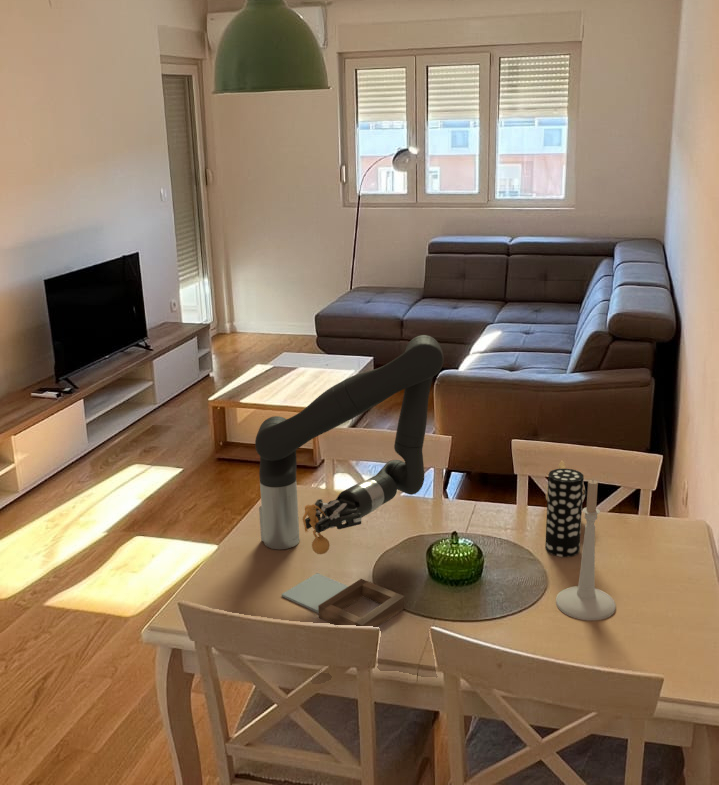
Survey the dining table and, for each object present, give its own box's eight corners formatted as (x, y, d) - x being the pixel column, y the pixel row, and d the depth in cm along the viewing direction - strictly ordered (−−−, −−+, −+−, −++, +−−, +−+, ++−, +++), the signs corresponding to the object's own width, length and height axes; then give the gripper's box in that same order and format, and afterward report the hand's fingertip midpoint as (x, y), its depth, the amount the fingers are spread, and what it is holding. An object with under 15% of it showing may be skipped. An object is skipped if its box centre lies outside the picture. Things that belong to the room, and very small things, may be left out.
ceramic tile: (281, 596, 197) (281, 594, 197) (317, 575, 206) (317, 572, 205) (320, 613, 189) (320, 611, 189) (355, 591, 198) (355, 588, 198)
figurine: (318, 564, 190) (319, 516, 185) (295, 556, 192) (295, 509, 188) (337, 546, 197) (337, 500, 192) (314, 539, 199) (314, 494, 195)
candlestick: (622, 598, 192) (631, 474, 183) (606, 626, 182) (615, 497, 173) (566, 584, 199) (572, 464, 190) (547, 610, 188) (553, 485, 179)
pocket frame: (318, 617, 188) (318, 605, 187) (361, 590, 199) (361, 578, 198) (362, 637, 180) (362, 625, 179) (404, 608, 191) (404, 596, 190)
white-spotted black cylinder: (542, 553, 213) (545, 479, 206) (548, 539, 220) (551, 466, 214) (576, 559, 210) (581, 484, 203) (581, 544, 217) (586, 470, 211)
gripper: (338, 478, 207) (287, 503, 194) (383, 492, 198) (333, 520, 186) (339, 506, 209) (289, 533, 197) (384, 521, 200) (335, 551, 188)
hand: (311, 526), depth 191 cm, fingers closed on figurine, 2 cm apart
